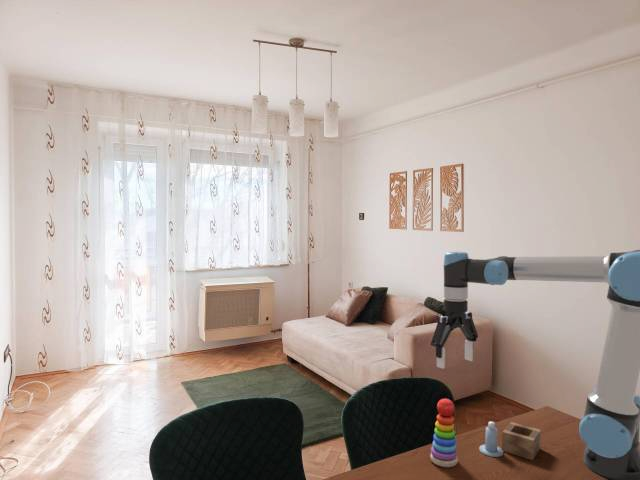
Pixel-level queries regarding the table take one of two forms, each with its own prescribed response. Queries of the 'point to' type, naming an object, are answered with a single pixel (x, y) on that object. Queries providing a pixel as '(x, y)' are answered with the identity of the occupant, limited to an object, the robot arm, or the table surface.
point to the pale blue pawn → (491, 442)
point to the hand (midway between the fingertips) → (454, 363)
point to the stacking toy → (444, 436)
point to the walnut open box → (521, 440)
